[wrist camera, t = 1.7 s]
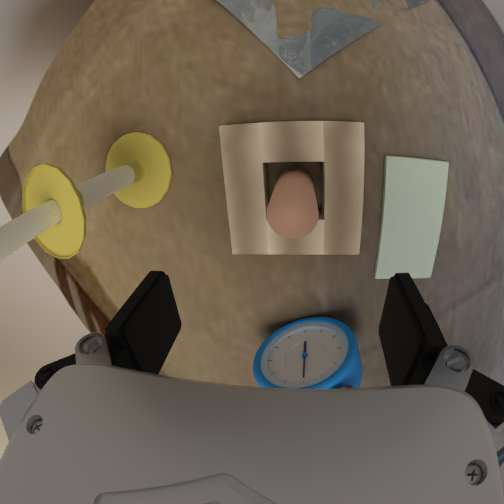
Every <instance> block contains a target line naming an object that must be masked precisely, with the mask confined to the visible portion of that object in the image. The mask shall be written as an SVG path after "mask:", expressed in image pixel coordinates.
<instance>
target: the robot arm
mask: <svg viewBox="0 0 504 504" xmlns="http://www.w3.org/2000/svg"><path fill="white" fill-rule="evenodd" d="M180 329H181V320H180V316H179V313H178V309H177V306H176V302H175V299H174V295H173V291H172V288H171V284H170V280H169V277H168V275H165V273H164V272H163V271H150V272H149V273H148V275H147V276H146V277H145V278H144V280H143V281H142V282H141V283H140V285H139V286H138V287H137V288H136V289H135V291H134V292H133V293H132V295H131V296H130V297H129V298H128V300H127V301H126V302H125V303H124V305H123V306H122V307H121V309H120V310H119V311H118V312H117V314H116V315H115V316H114V318H113V319H112V320H111V322H110V323H109V324H108V326H107V327H106V328H105V330H106V334H105V335H102V334H100V333H91V334H88V335H86V336H84V337H82V338H81V339H80V340H79V341H78V342H77V344H76V347H75V354H72V355H70V356H68V357H65V358H63V359H60V360H58V361H55V362H53V363H50V364H47V365H45V366H43V367H42V368H41V369H40V370H39V371H38V372H37V374H36V376H35V382H34V383H33V382H32V381H30V382H28V383H27V384H26V385H24V386H23V387H21V388H20V389H18V390H17V391H16V392H14V393H13V394H11V395H10V396H8V397H7V398H6V399H5V400H3V401H2V403H1V405H0V416H1V418H2V422H3V425H4V428H5V430H6V433H7V436H8V439H9V443H8V445H7V447H6V449H5V452H4V453H3V456H2V457H1V460H0V504H504V386H503V385H501V384H499V383H498V382H496V381H494V380H492V379H490V378H488V377H487V376H485V375H483V374H481V373H479V372H478V371H476V370H474V369H473V367H474V360H473V357H472V355H471V354H470V353H469V352H468V351H467V350H466V349H465V348H463V347H460V346H456V345H451V346H447V343H446V341H445V339H444V337H443V335H442V332H441V330H440V328H439V326H438V324H437V322H436V320H435V318H434V316H433V314H432V312H431V310H430V308H429V306H428V305H427V304H426V303H425V302H424V300H423V298H422V296H421V294H420V292H419V291H418V289H417V287H416V285H415V283H414V281H413V279H412V278H411V276H410V274H409V273H395V275H394V277H390V280H389V286H388V290H387V295H386V300H385V304H384V309H383V313H382V317H381V321H380V325H379V336H380V340H381V344H382V348H383V352H384V356H385V360H386V365H387V369H388V374H389V378H390V383H391V386H385V387H369V388H344V389H292V388H268V387H253V386H240V385H229V384H220V383H211V382H203V381H196V380H189V379H182V378H175V377H169V376H164V375H158V374H159V372H160V370H161V368H162V366H163V363H164V361H165V359H166V357H167V355H168V353H169V351H170V349H171V347H172V345H173V343H174V341H175V339H176V337H177V335H178V333H179V331H180Z"/></svg>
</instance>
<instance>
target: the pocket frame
mask: <svg viewBox="0 0 504 504" xmlns="http://www.w3.org/2000/svg"><path fill="white" fill-rule="evenodd" d="M219 133H220V143H221V153H222V163H223V172H224V182H225V191H226V200H227V209H228V218H229V227H230V236H231V244H232V253H233V254H303V255H359V250H360V240H361V227H362V213H363V194H364V122H350V121H277V122H259V123H245V124H233V125H224V126H219ZM268 162H322V210H318V212H319V218H318V222H317V225H316V226H315V228H314V229H313V231H312V232H311V233H309V234H308V235H306V236H304V237H302V238H298V239H289V238H285V237H282V236H280V235H278V234H277V233H275V232H274V231H273V230H272V228H271V227H270V225H269V223H268V220H267V207H268V204H269V197H268V181H267V166H266V163H268Z"/></svg>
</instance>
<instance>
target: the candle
mask: <svg viewBox="0 0 504 504" xmlns="http://www.w3.org/2000/svg"><path fill="white" fill-rule="evenodd" d="M105 170H106V172H105V173H103V174H101V175H98V176H96V177H93V178H91V179H89V180H86V181H84V182H82V183H79V184H77V185H74V183H73V181H72V179H71V178H70V177H69V176H68V175H67V174H66V173H65V172H64V171H63V170H62V169H61V168H59V167H56V166H53V165H50V164H47V163H46V164H43V165H40V166H37V167H34V168H33V169H32V170H31V172H30V173H29V174H28V176H27V177H26V179H25V183H24V187H23V192H22V200H23V211H24V214H22V215H21V216H19V217H17V218H15V219H14V220H12V221H10V222H8V223H7V224H5V225H4V226H2V227H0V262H1V261H2V260H3V259H5V258H6V257H7V256H8V255H10V254H12V253H13V252H14V251H15V250H17V249H19V248H20V247H21V246H23V245H24V244H26V243H27V242H29V241H30V240H32V239H33V238H34V239H35V240H36V241H37V243H38V244H39V245H40V246H41V247H42V248H43V249H44V250H45V251H46V252H47V253H49V254H51V255H53V256H54V257H56V258H63V259H69V258H71V257H72V256H73V255H75V254H76V253H78V252H79V251H80V249H81V247H82V244H83V242H84V240H85V237H86V215H85V211H84V209H86V208H88V207H90V206H91V205H93V204H95V203H97V202H98V201H100V200H102V199H104V198H106V197H108V196H109V195H111V194H113V193H114V195H115V196H116V197H117V198H118V199H120V200H121V201H122V202H123V203H124V204H126V205H129V206H132V207H134V208H149V207H151V206H153V205H154V204H156V203H158V202H160V201H161V200H162V199H163V197H164V196H165V194H166V193H167V192H168V190H169V188H170V184H171V179H172V175H173V173H172V166H171V158H170V156H169V154H168V153H167V151H166V149H165V147H164V145H163V144H162V143H161V142H160V141H159V140H157V139H156V138H155V137H154V136H152V135H150V134H147V133H143V132H139V131H138V132H133V133H129V134H124V135H123V136H122V137H121V138H119V139H118V140H117V141H116V142H114V144H113V146H112V147H111V149H110V151H109V153H108V155H107V161H106V168H105Z"/></svg>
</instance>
